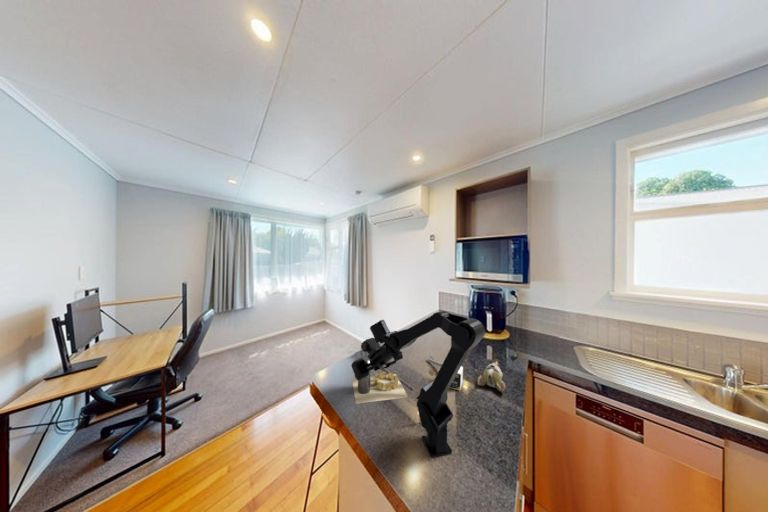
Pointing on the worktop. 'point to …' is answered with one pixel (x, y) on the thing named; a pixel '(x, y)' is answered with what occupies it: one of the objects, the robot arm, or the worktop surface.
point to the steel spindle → (365, 380)
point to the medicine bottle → (458, 380)
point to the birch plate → (378, 391)
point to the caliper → (435, 362)
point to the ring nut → (387, 385)
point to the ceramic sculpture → (492, 377)
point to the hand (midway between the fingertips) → (364, 372)
